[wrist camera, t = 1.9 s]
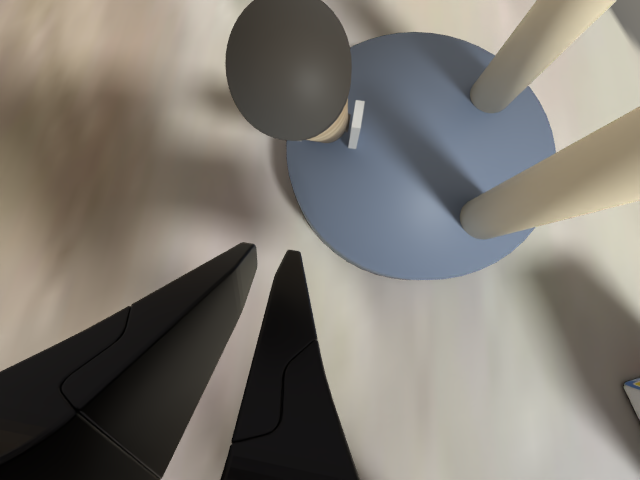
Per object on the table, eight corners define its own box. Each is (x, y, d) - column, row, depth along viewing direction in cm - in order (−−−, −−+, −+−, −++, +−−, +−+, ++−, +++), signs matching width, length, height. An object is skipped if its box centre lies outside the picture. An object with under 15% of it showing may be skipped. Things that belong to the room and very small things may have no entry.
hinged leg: (345, 147, 19) (340, 147, 7) (303, 141, 19) (226, 131, 7) (353, 99, 17) (363, -4, 6) (308, 93, 18) (224, -19, 6)
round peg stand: (519, 299, 20) (1473, 395, 3) (271, 258, 21) (65, 176, 4) (528, 77, 23) (1045, -442, 6) (312, 51, 24) (281, -450, 7)
